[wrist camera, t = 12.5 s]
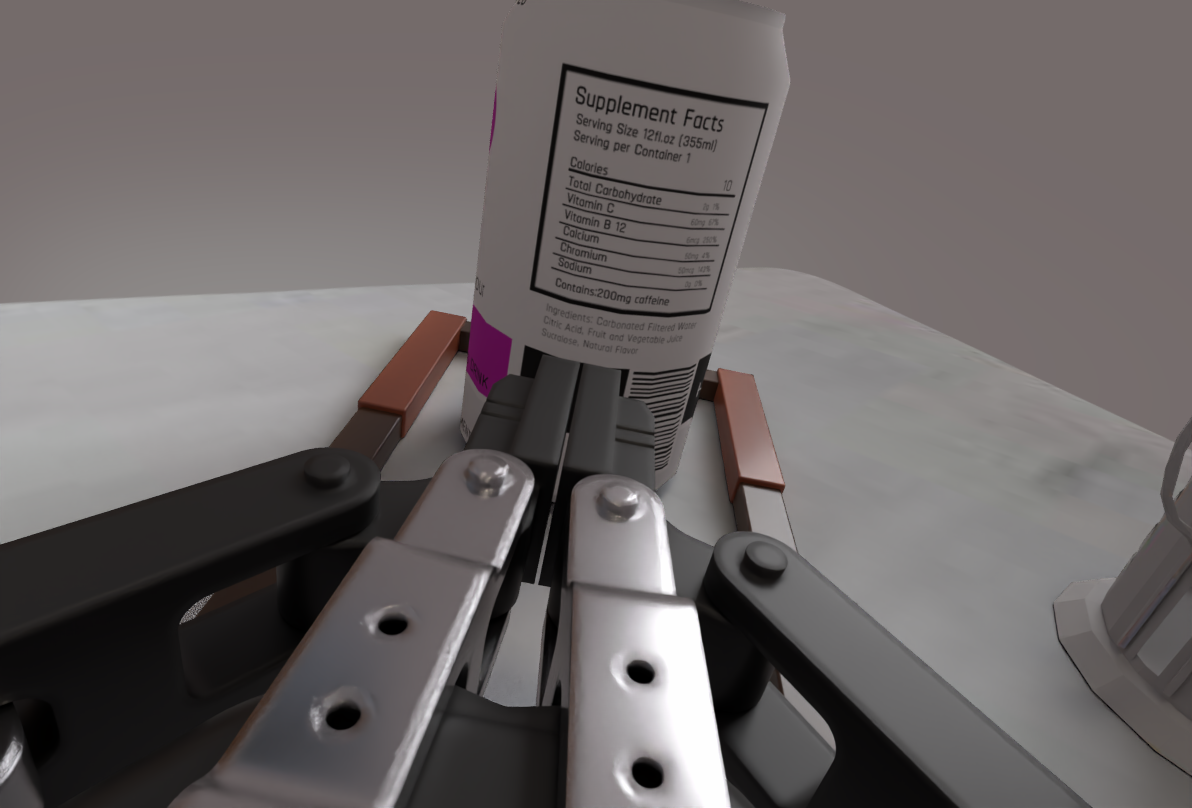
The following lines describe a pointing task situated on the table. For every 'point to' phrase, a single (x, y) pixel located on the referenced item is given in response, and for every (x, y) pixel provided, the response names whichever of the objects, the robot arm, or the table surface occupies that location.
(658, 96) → the supplement can
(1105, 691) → the french press
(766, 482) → the slide track
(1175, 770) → the table surface
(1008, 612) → the table surface
